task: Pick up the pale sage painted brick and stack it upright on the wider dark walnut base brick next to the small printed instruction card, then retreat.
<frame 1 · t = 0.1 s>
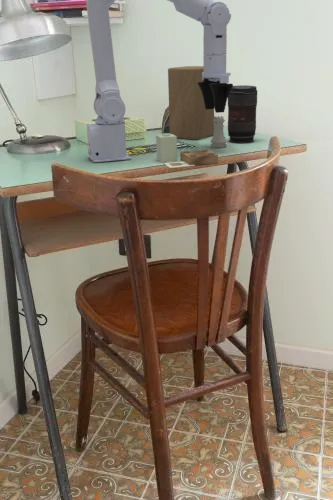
hand: (214, 110, 139), 10 cm above the table, fingers open, 7 cm apart
instruction card: (179, 165, 127), on the table
top brick: (167, 160, 132), on the table
rook chess piece: (218, 147, 147), on the table
camera lens: (241, 141, 153), on the table
wooden block: (192, 137, 163), on the table
base brick: (198, 161, 129), on the table
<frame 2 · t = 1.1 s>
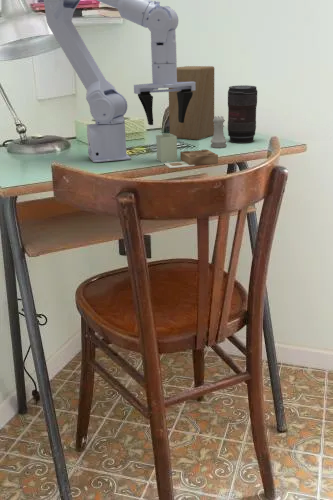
hand: (166, 123, 129), 9 cm above the table, fingers open, 7 cm apart
nothing on the table moved.
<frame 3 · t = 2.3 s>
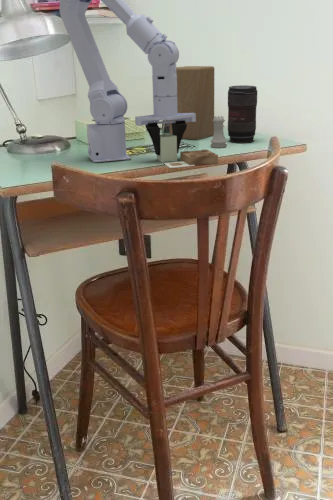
hand: (166, 153, 131), 2 cm above the table, fingers closed on top brick, 4 cm apart
top brick: (167, 160, 132), on the table, touching gripper
everything else where it was.
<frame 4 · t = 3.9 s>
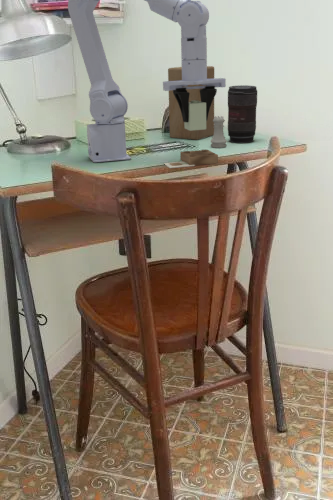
hand: (195, 121, 126), 10 cm above the table, fingers closed on top brick, 4 cm apart
top brick: (195, 128, 127), point 8 cm above the table, touching gripper
everything else where it was.
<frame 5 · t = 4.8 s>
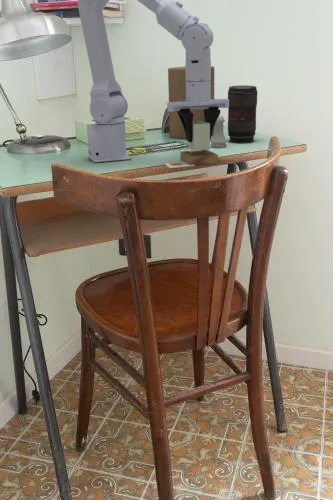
hand: (198, 140, 127), 5 cm above the table, fingers closed on top brick, 4 cm apart
top brick: (198, 148, 128), point 3 cm above the table, touching gripper
everything else where it was.
when the fingers open (5 cm above the table, at t = 5.3 s): top brick stays where it is, resting on base brick.
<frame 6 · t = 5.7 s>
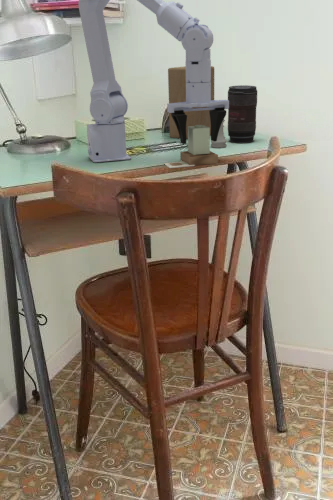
hand: (198, 142, 128), 5 cm above the table, fingers open, 7 cm apart
top brick: (198, 152, 128), point 2 cm above the table, touching base brick
everything else where it was.
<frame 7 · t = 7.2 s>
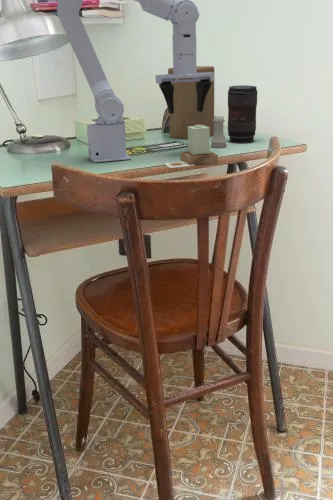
hand: (185, 112, 135), 10 cm above the table, fingers open, 7 cm apart
nothing on the table moved.
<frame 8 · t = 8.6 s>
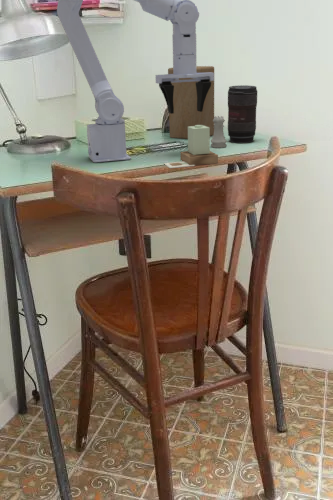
hand: (185, 112, 135), 10 cm above the table, fingers open, 7 cm apart
nothing on the table moved.
at the end: top brick 0.1 cm from the base brick (horizontally); top brick touching base brick; top brick tilted 0° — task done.
